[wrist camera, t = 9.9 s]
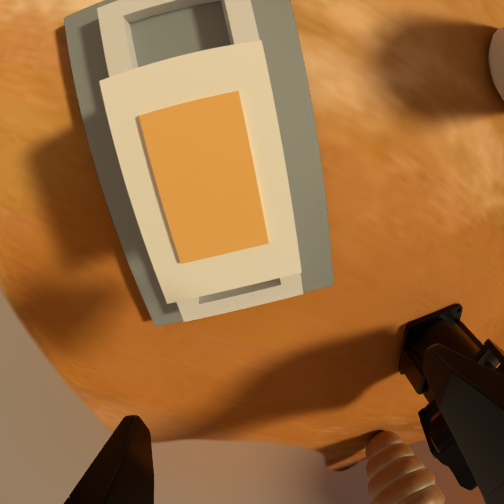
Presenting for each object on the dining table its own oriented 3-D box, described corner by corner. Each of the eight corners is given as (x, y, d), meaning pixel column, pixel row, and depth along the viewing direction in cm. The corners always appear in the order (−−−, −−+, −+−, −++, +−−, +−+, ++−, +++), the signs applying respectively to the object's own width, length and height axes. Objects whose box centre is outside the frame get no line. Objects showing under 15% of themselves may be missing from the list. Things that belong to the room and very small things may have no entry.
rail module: (238, 68, 14) (262, 39, 8) (267, 211, 18) (302, 274, 11) (142, 91, 14) (97, 80, 8) (179, 232, 18) (167, 306, 11)
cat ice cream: (339, 457, 34) (380, 569, 18) (355, 426, 31) (409, 557, 15) (396, 441, 36) (443, 540, 19) (417, 408, 32) (478, 519, 16)
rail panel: (276, -29, 13) (287, -46, 10) (328, 277, 21) (341, 297, 19) (70, 21, 12) (52, 11, 10) (156, 317, 21) (152, 341, 19)
